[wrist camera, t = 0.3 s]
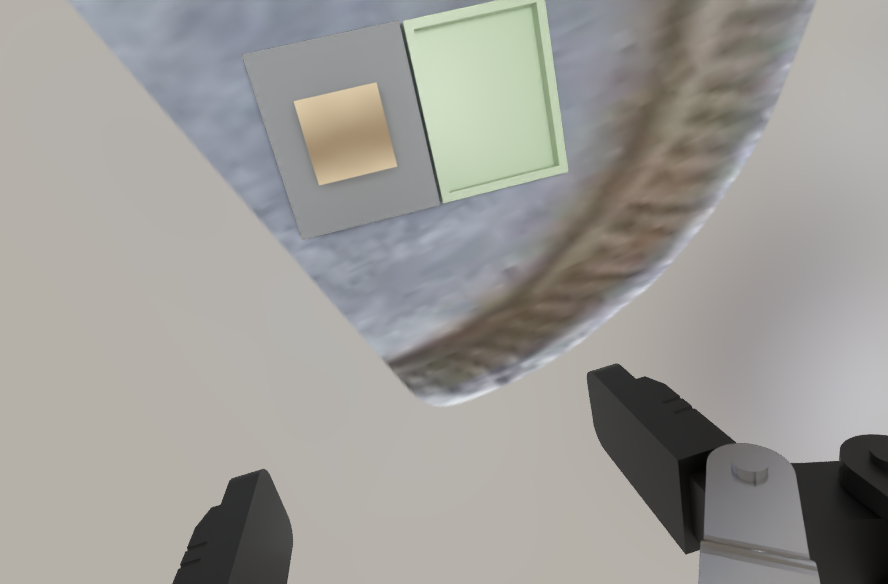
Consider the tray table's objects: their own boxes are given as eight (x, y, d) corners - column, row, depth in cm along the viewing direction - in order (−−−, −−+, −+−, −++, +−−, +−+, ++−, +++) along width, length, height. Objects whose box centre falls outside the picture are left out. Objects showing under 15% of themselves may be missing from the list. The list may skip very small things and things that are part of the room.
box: (400, 25, 33) (402, 20, 32) (535, -4, 34) (543, -10, 33) (440, 200, 37) (443, 203, 36) (560, 170, 38) (568, 171, 37)
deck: (248, 59, 32) (241, 54, 30) (396, 26, 33) (398, 20, 31) (305, 234, 36) (302, 240, 34) (436, 201, 37) (440, 205, 35)
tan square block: (299, 104, 32) (293, 101, 29) (374, 87, 32) (376, 82, 29) (322, 181, 33) (318, 185, 31) (394, 164, 34) (397, 166, 31)
